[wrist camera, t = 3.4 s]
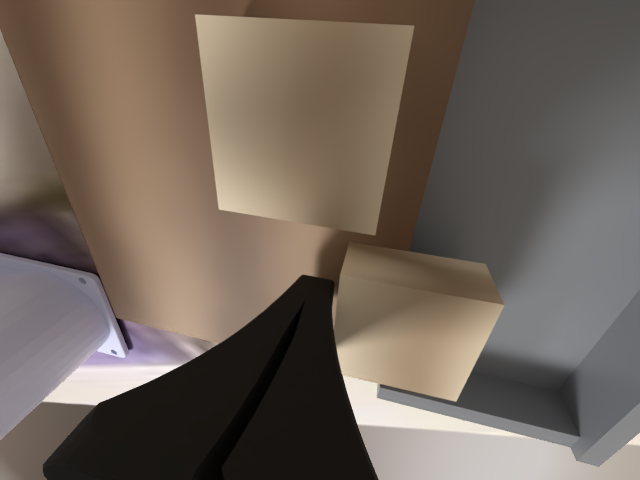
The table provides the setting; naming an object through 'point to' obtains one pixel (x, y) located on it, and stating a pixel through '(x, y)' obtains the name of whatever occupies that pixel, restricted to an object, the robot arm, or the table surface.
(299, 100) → the tile
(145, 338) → the table surface
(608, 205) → the slate bin
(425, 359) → the tile
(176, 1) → the walnut board
